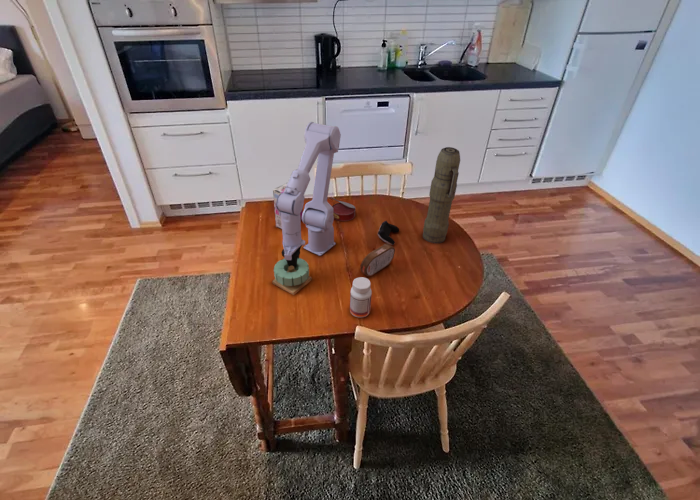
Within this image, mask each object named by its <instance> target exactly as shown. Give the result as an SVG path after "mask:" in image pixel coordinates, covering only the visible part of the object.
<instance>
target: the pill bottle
mask: <svg viewBox="0 0 700 500" xmlns="http://www.w3.org/2000/svg"><path fill="white" fill-rule="evenodd" d="M371 285H372V283H371V281H370V279H369V278H367V277H362V276H359V277H356V278H354V279H353V281H352V287H351V288H350V294H349V312H350V314H351V315H352V316H353V317H354V318H355V317H356V318H359V319H363V318H366V317H367V316H369V314H371V306H372V297H373V296H372V294H373V291H372V288H371Z"/></svg>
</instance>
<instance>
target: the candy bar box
mask: <svg viewBox="0 0 700 500" xmlns="http://www.w3.org/2000/svg"><path fill="white" fill-rule="evenodd" d="M287 183H288V182H286V183H284V184H282V185H279V186H277V187H275V188H274V189H272V195H273V206H274V207H273V208H274V218H275V219H274V220H275V228H278V229H280V230H282V223H281V217H280V215H279V212H278V210H277V209H276V201H277V197H278V196H279V194H281V193H283V192H284V190H285V188H286V186H287ZM303 211H304V208H303V209H302V211H301V212H300V222H301V221H302V214H303Z"/></svg>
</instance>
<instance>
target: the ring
mask: <svg viewBox="0 0 700 500" xmlns="http://www.w3.org/2000/svg"><path fill="white" fill-rule="evenodd" d="M288 267H289V266H288V263H287V261H286V260H285V258H284V257H283V258H282V259H280V260H278V261H276V263H275V264H274V267H273V276H274V279H276V281H278V283H280V284H282V285H284V284H285V286H292V285H294V286H295V285H299V284H301V283H303V282H305V281H306V280H307V278H308V276H310V265H309V263H308V262H307V261H306V260H305V259H303V258H301V257H299V259H297V266H296V269H295V270H296V272H287V271H288Z"/></svg>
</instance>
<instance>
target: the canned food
mask: <svg viewBox="0 0 700 500" xmlns="http://www.w3.org/2000/svg"><path fill="white" fill-rule="evenodd" d="M331 199H332V200H333V201H336V202H337V203H335V204H333V205H331V206H332V207H333V209H334V211H333V216H334V220H336V221H339V222H348V221H352V220H353V219H354V218H355V217H356V206H355V205H353V204H351V203H350V202H346V201H342V200H337V199H336V198H334V197H331Z"/></svg>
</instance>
